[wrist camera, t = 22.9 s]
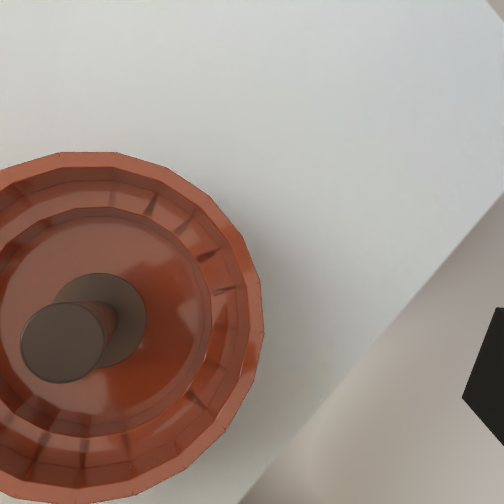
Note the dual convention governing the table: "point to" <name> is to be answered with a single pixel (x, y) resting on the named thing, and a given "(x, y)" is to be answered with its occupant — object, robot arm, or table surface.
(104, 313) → the brown joystick
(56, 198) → the bowl
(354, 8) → the table surface
